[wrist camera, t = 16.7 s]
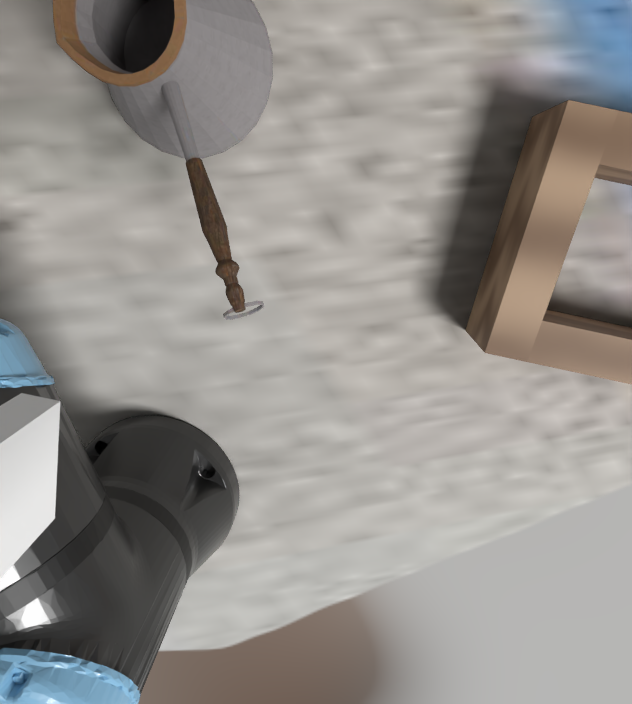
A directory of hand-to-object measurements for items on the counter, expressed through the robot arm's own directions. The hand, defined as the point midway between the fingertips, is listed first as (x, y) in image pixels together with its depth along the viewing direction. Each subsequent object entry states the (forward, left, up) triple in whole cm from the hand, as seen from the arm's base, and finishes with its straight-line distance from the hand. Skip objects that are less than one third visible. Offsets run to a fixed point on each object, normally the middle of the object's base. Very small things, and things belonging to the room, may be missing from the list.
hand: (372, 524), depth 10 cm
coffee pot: (+8, +12, -30) cm, 34 cm away
